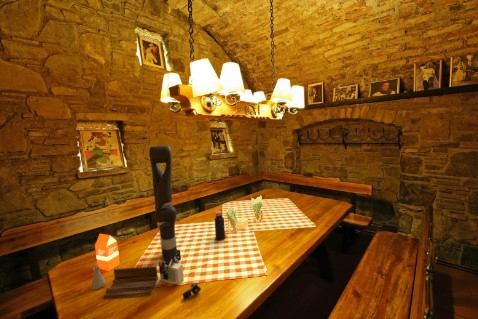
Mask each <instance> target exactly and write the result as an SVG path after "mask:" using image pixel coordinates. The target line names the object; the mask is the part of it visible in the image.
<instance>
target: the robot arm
mask: <svg viewBox="0 0 478 319" xmlns="http://www.w3.org/2000/svg"><path fill="white" fill-rule="evenodd" d="M148 155H149V161H150V162H149V163H150V166H151V167H150V168H151V175H152V176H151V177H152V188H153V190H152V191H153V196H154V213H155V214H154V219H155V221H156V222H157V223H158V224H159V223H160V225H159V227H158V228H159V236H160V237H159V238H160V249H161V258H162V259H163V260H162V261H159V262H158V271H159V272H158V273H159V275H160V274H163V278H164V279H165V280H168V273H167V272H168V269H169V268H170V265H171V264H172V263H177V264H180V261H182V260H181V259H182V255H181V250H180V249H177V247H178V246H177V239H176V238H177V237H176V228H175V226H176V225H175V224H176V219H177V213H178V211H177V209H176V208H175V207H174V205H173V204H172V203H171V202H172V201H173V195H172V194H173V193H172V171H173V170H172V168H173V167H172V166H173V164H172V163H173V161H172V160H173V157H172V156H173V155H172V148H171V147H170V145H155V146H154V145H152V146H150V147H149V149H148ZM159 164H165V169H164V171H163V170H161V168H160V167H159ZM166 265H168V266H166ZM165 268H166V271H165Z"/></svg>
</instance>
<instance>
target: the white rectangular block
mask: <svg viewBox="0 0 478 319" xmlns="http://www.w3.org/2000/svg"><path fill="white" fill-rule="evenodd" d="M166 266H168V265H166ZM165 271H166V268H165ZM167 273H168V280H165V279H164V278H163V274H160V273H159V279H160V281H161V282H164V283H165V282H166V283H169V284H173V285H176V286H180V285H181V284H182V283H183V282H185V280H184V269H183V264H181V263H178V264H177V263H172V264H171V265H170V268H169V269H168V272H167Z"/></svg>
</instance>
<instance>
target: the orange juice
mask: <svg viewBox="0 0 478 319" xmlns="http://www.w3.org/2000/svg"><path fill="white" fill-rule="evenodd" d="M94 248H95V256H96V262H97V266H100V270H103V271H107V272H108V271H109V272H110V271H111V270H114V269H115V267H117V266H119V265H120V256H119V255H120V254H119V247H118V241H117V240H116V239H115V238H114V237H113V236H112V235H110V234H103V233H99V235H98V238H97V240H96V243H95V245H94Z"/></svg>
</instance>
